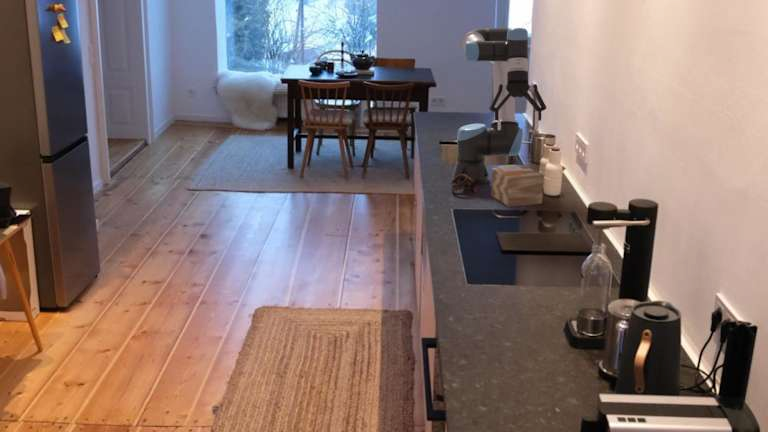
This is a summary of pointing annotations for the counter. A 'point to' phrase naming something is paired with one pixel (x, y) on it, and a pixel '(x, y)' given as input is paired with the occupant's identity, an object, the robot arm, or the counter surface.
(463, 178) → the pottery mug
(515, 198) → the oak block
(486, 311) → the counter surface
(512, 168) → the tile
